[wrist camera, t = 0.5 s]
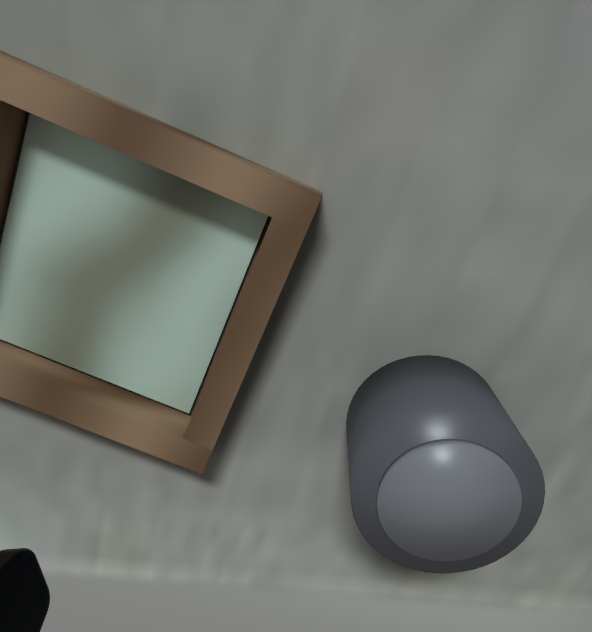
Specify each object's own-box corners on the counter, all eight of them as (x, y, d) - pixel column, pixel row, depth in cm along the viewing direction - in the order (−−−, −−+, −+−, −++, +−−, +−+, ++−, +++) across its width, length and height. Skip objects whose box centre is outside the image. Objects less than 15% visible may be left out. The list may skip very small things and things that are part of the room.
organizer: (322, 192, 18) (321, 197, 16) (210, 450, 21) (202, 474, 20) (-245, -58, 16) (-303, -77, 15) (-259, 267, 20) (-307, 278, 18)
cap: (528, 390, 20) (588, 466, 15) (452, 506, 22) (485, 604, 17) (387, 331, 19) (405, 390, 15) (322, 454, 21) (320, 541, 17)
